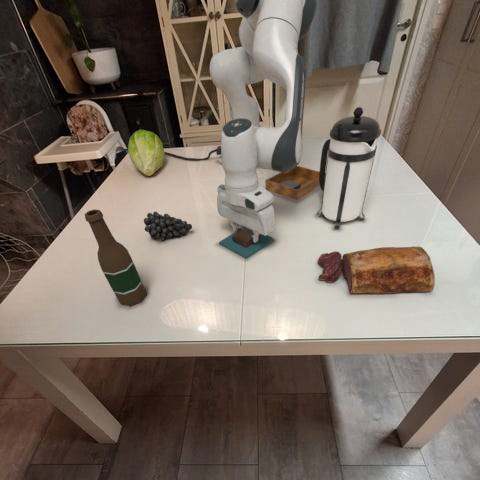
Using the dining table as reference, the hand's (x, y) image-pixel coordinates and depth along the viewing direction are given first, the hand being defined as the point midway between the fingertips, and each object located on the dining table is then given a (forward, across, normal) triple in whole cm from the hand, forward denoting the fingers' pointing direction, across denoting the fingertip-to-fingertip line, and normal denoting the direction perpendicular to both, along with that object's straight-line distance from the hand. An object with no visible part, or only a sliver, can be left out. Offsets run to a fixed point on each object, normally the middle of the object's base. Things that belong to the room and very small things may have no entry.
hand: (246, 237), depth 90 cm
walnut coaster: (+1, 0, 0) cm, 1 cm away
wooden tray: (+2, -11, +38) cm, 40 cm away
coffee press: (+2, +13, +29) cm, 32 cm away
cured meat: (+2, +35, +9) cm, 36 cm away
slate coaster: (+1, -11, +34) cm, 36 cm away
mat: (+2, 0, 0) cm, 2 cm away
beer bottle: (+2, -6, -37) cm, 38 cm away
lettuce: (+2, -79, +16) cm, 80 cm away
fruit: (+2, -22, -13) cm, 26 cm away
